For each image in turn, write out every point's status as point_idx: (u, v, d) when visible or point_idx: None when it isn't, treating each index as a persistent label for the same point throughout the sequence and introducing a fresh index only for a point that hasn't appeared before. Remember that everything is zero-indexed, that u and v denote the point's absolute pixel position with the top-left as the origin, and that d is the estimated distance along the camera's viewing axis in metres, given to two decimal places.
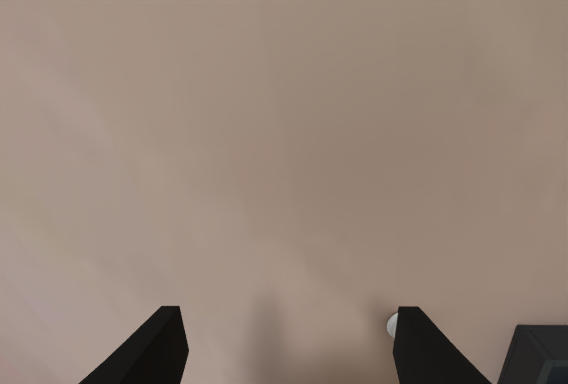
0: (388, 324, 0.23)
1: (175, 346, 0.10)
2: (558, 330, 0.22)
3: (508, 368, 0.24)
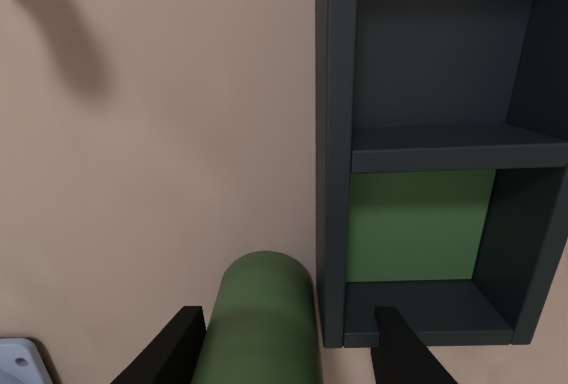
0: None
1: (198, 346, 0.10)
2: None
3: (317, 67, 0.09)
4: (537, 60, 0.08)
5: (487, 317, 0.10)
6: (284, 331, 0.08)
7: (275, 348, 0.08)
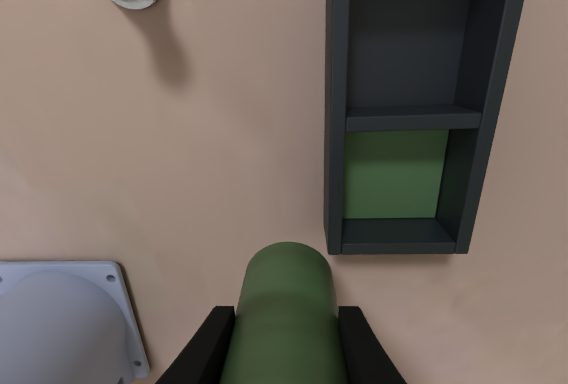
0: None
1: None
2: None
3: (326, 66, 0.13)
4: (467, 62, 0.13)
5: (439, 236, 0.14)
6: (309, 312, 0.09)
7: (302, 326, 0.08)
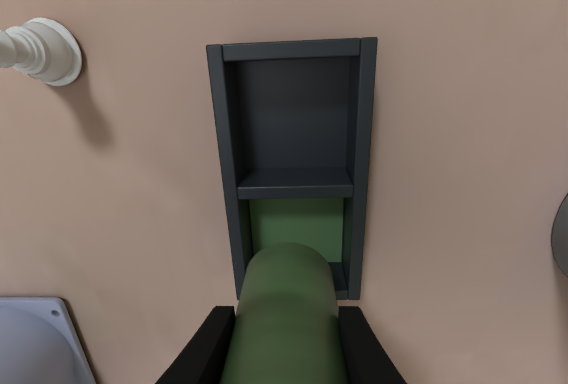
0: None
1: None
2: None
3: None
4: (348, 135, 0.14)
5: (336, 283, 0.16)
6: (309, 313, 0.09)
7: (302, 327, 0.08)
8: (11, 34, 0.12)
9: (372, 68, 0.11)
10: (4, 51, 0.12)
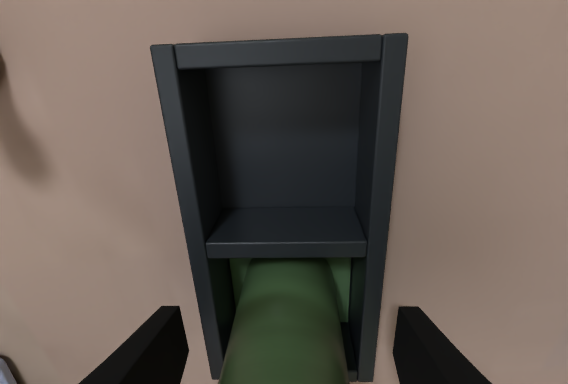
0: None
1: (175, 346, 0.10)
2: None
3: None
4: (359, 168, 0.10)
5: None
6: (308, 315, 0.09)
7: (301, 329, 0.08)
8: None
9: (399, 80, 0.08)
10: None
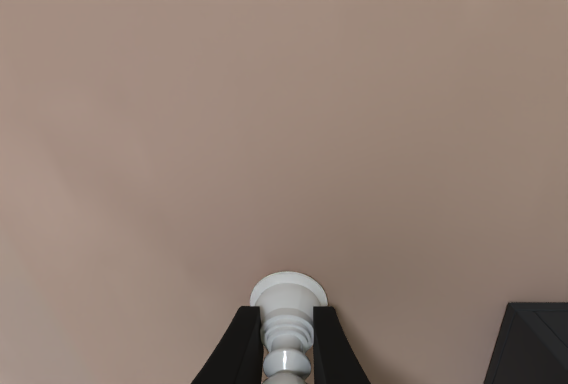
0: (252, 301, 0.11)
1: (258, 347, 0.10)
2: None
3: None
4: None
5: None
6: None
7: None
8: (288, 332, 0.09)
9: None
10: (301, 379, 0.09)
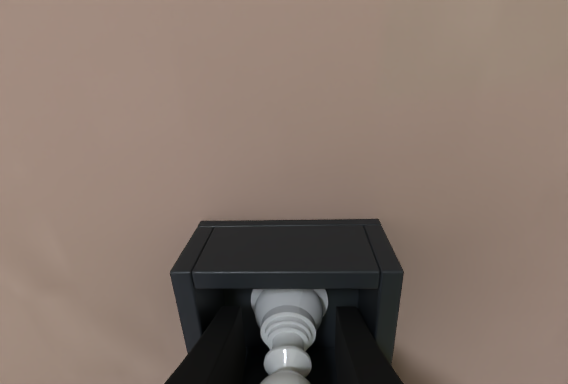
0: (252, 298, 0.11)
1: (239, 347, 0.10)
2: (273, 228, 0.11)
3: None
4: None
5: None
6: None
7: None
8: (288, 329, 0.09)
9: (395, 304, 0.08)
10: None
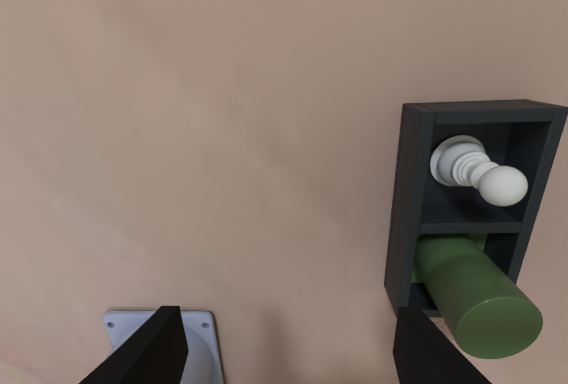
0: (432, 159, 0.17)
1: (175, 346, 0.10)
2: (457, 104, 0.16)
3: (398, 175, 0.17)
4: None
5: None
6: (493, 265, 0.15)
7: (495, 271, 0.15)
8: (479, 160, 0.15)
9: (560, 131, 0.14)
10: None
